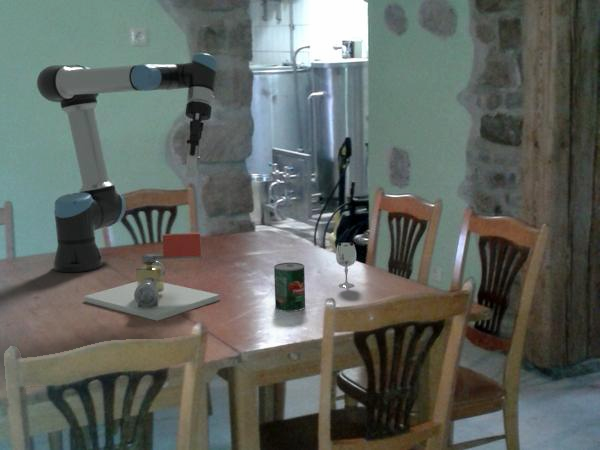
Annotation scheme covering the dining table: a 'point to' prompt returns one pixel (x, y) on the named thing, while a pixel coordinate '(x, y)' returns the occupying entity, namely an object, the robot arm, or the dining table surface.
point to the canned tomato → (289, 286)
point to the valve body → (149, 284)
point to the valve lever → (177, 247)
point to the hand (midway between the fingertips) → (190, 173)
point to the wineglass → (346, 259)
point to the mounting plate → (169, 300)
